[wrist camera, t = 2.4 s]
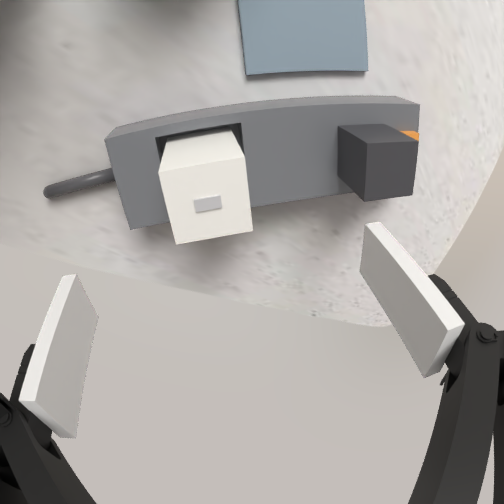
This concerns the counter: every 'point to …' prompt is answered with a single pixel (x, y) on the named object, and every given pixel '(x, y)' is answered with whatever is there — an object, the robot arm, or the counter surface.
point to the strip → (273, 151)
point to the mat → (303, 35)
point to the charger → (205, 185)
